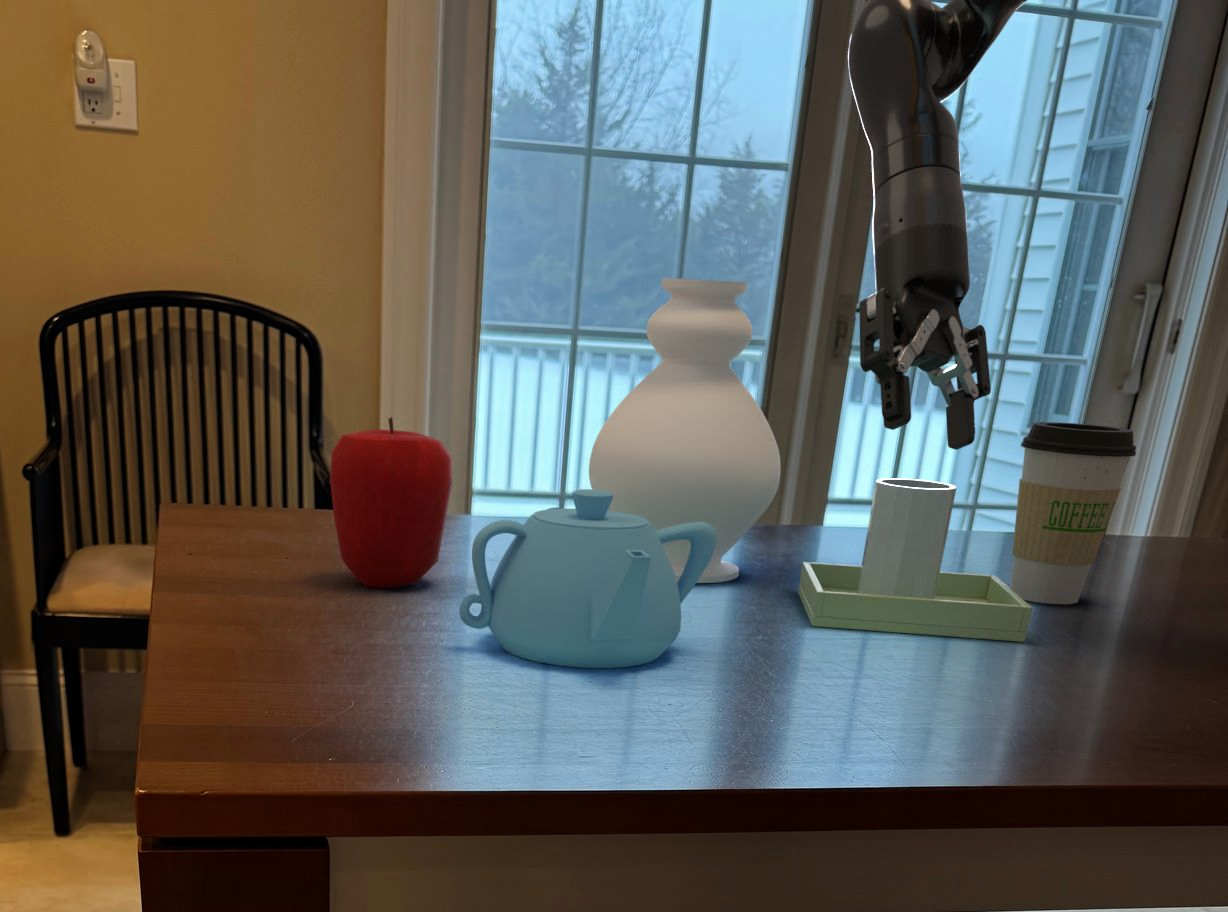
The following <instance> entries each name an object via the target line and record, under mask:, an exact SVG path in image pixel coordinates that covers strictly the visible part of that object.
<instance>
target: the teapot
mask: <svg viewBox="0 0 1228 912" xmlns="http://www.w3.org/2000/svg"><path fill="white" fill-rule="evenodd" d="M571 493H572V500H573V504H574V508H563V507H559V506H558V507H557V506H556V507H549V508H546V509H542V510H537V511H535V512H534V513H533V514H531V515H530V516H529V517H528V518H527V520H526V521H525V522H524V524H523V523H520V522H518V521H515V520H512V519H500V520H496V521H493V522H490V523H489V524H487V525H485V526H484V527H482V528H481V529H480V530H479V531H478V533H477V534H476V536H475V538H474V539H473V543H472V546H471V547H472V548H471V563H472V567H473V574H474V579H475V583H476V587H477V590H478V594H475V593H471V594H467V595H466V596H465V597H463V599H462V601H461V603H460V606H459V616H460V620H461V621H462V623H463V624H465V625H466V626H468V627H470V628H472V629H476V630H479V629H480V630H481V629H484V628H486V627H488V629H489V630H490V632H491V633H492V635H493V636H494V637H495V639H496V640H497V641H498V643H500V645H501V646H502V648H503V649H504V650H505V651H506V652H507V653H510V654H511V655H513V656H515V657H518V658H522V659H525V660H529V661H532V662H536V663H542V664H547V665H553V666H559V667H567V668H568V667H569V668H581V669H583V668H584V669H585V668H586V669H616V668H617V669H618V668H630V667H636V666H641V665H646V664H648V663H652V662H654V661H655V660H657V659H658V658H659V657H660V656H661V655H662V654H663V653H664V652H666V650H668V648H670V646H671V645H673V643H674V642H675V641H676V639H677V637H678V636H679V634H680V632H681V626H682V608H681V607H682V603H683V601H684V600H685V599H686V598H687V597H688V595H689V594H690V592H691V591H692V590H693V588H694V587H695V585H696V584H697V583H696V582H697V581H698V579H699V578H700V576H701V575H702V573H703V572H704V570H705V569H706V567H707V565H708V563H709V561H710V559H711V557H712V555H713V552H714V549H715V545H716V539H717V535H716V531H715V529H714V528H713V526H711V525H709V524H707V523H702V522H692V523H684V524H680V525H675V526H671V527H667V528H664V529H660V530H657V531H655V530H654V528H653V526H652V525H651V523H650V522H649V521H648V520H647V519H645V518H643V517H640V516H636V515H632V514H627V513H621V512H614V511H608V508H609V506H610V504H611V501H612V498H613V494H612V493H610V492H608V491H603V490H593V489H592V488H590V489H588V488H582V489H580V488H579V489H576V490H574V491H572V492H571ZM503 534H510V535H514V536H515V537H514V538H513V539H512V541H511V543H510V544H509V546H508V547H507V549H506V551H505V552H504V554H503V556H502V557H501V559H500V561H499V563H498V565H497V567H496V569H495V572H494V574H493V576H492V579H491V582H490V581H489V576H488V571H487V565H486V548H487V546H488V542H489V541H490V540H491V539H492V538H494V537H495V536H498V535H503ZM679 539H687V540H689V541H690V543H691V549H690V554H689V557H688V560H687V563H686V565H685V568H684V570H683V573H682V574H681V576H680V578H679V580H678V582H677V581H676V577H675V574H674V571H673V569H672V566H671V563H670V561H669V559H668V556H667V554H666V552H665V550H664V548H663V545H662V543H666V542H669V541H674V540H679ZM473 604H480V606H481V608H480V613H479V614H478V615H473V614H472V613H471V611H470V609H471V607H472V605H473Z"/></svg>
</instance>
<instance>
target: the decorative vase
mask: <svg viewBox="0 0 1228 912" xmlns="http://www.w3.org/2000/svg"><path fill="white" fill-rule="evenodd" d="M747 288H748V282H745V281H743V282H742V281H729V280H728V281H727V280H711V279H710V280H709V279H691V278H673V277H672V278H670V277H669V278H668V277H662V278H661V289H663V290H665V291H666V292H668V293H669V294H670V299H669V300H668V301H666V302H664V304H662V305H661V306H659V308H658V309H656V310H655V311H654V312H653V314H652V315H651V316H650V317H649V319H648V320H647V321H648V322H647V324H646V330H645V331H646V337H647V339H648V341H649V343H650V345H651V346H652V347H653V349H654V351H655V352H656V353H657V354H658V355H659V356H660V357H661V362H660V363H659V364H658V365H656V367H655V368H654V369H652V370H651V372H649V373H648V374H647V375H646V376H645V377H644V378H643V379H642V380H641V381H640V382H639V383H638V384H636V386H635V387H634V388H632V390H630V392H629V393H628V394H626V396H625V397H624V398H623V399H622V400H621V402H619V404H618V405H617V406H616V408H615V409H614V410H613V411H612V412H611V414H610V415H609V417H608V418H607V420H606V421H605V422H604V424H603V425H602V427H601V429H600V430H599V432H598V434H597V436H596V438H595V440H594V443H593V446H592V449H591V453H590V457H589V464H588V478H589V479H588V480H589V484H590V489H593V490H603V491H608V492H610V493H612V494H613V498H612V501H611V504H610V506H609V508H608V511H614V512H621V513H627V514H632V515H636V516H640V517H643V518H645V519H647V520H648V521H649V522H650V523H651V525H652V526H653V528H654V530H655V531H657V530H660V529H664V528H667V527H671V526H675V525H680V524H684V523H692V522H702V523H707V524H709V525H711V526H713V528H714V529H715V531H716V535H717V539H716V545H715V549H714V552H713V555H712V557H711V559H710V561H709V563H708V565H707V567H706V569H705V570H704V572H703V573H702V575H701V576H700V578H699V579H698V581H697V582H696V584H712V583H713V584H714V583H723V582H729V581H732V580H735V579H737V578H738V577H739V573H740V568H739V567H738V566H737V565H736V564H734V563H732V562H729V561H726V560H723V559H722V558H723V557H724V556H725V555H726V554H727V553H728V552H729V551H730V550H731V549H732V548H733V547H734V546H735V545H736V544H737V543H738V542H739V541H740V540H741V538H743V536H744V535H745V534H746V533H748V531H749V530H750V529H751V528H752V527H753V526H754V525H755V524H756V523H757V521H758V520H759V519H760V518H761V517H762V515H763V514H765V512H766V511H767V509H768V508H769V507H770V505H771V504H772V502H773V500H774V499H775V497H776V495H777V492H778V489H779V485H780V480H781V456H780V450H779V446H778V444H777V440H776V438H775V435H774V432H773V431H772V428H771V426H770V423H769V422H768V419H767V417H766V416H765V414H764V412H763V411H762V409H761V407H760V406H759V404H758V403H757V402H756V400H755V398H754V397H753V396H752V394H751V392H750V391H749V390H748V388H747V387H746V385H745V384H744V383H743V382H742V380H741V379H740V377H738V375H737V374H736V373H735V371H734V370H733V368H732V367H731V361H733V360H735V359H736V358H737V357H738V356H739V355H740V354H741V353H743V351H745V349H746V348H747V347H748V346H749V345H750V343H751V341H752V337H753V326H752V323H751V321H750V318H749V317H748V316H747V314H746V313H745V312H744V311H743V309H741V308H740V307H739V306H738V305H737V304H736V303H735V301H736V298H737V297H739V296H741V295H743V294H745V293H747ZM662 545H663V548H664V550H665V552H666V554H667V556H668V559H669V561H670V563H671V566H672V569H673V571H674V574H675V577H676V581H677V582H678V580H679V578H680V576H681V574H682V573H683V570H684V568H685V565H686V563H687V560H688V557H689V554H690V549H691V543H690V541H689V540H687V539H679V540H674V541H669V542H666V543H662Z"/></svg>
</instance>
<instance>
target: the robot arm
mask: <svg viewBox="0 0 1228 912" xmlns="http://www.w3.org/2000/svg"><path fill="white" fill-rule="evenodd" d="M1027 1H1028V0H950V1H948V3H946V5H944V6H943V7H941V6H939V5H937V4H936V3H935V2H933V1H931V0H867V2H866V3H865V4H864V5H863V7H862V8H861V10H860V11H859V13H858V15H857V17H856V20H855V22H854V24H853V26H852V30H851V34H850V38H849V45H848V51H847V53H848V54H847V61H848V64H847V65H848V72H849V73H848V74H849V80H850V84H851V88H852V89H851V90H852V92H853V96H854V100H855V103H856V106H857V110H858V113H859V117H860V121H861V124H862V129H863V130H864V133H865V137H866V139H867V141H868V144H869V147H870V151H871V173H872V175H871V176H872V190H873V214H872V226H871V227H872V229H871V230H872V248H873V267H874V282H875V283H874V285H875V286H874V287H875V292H874V293H873V294H871V295H869V296H867V297H866V298H864V299H862V300H860V301H859V305H858V306H859V307H858V308H859V309H858V310H859V364H860V368H861V370H862V371H863V372H864V373H869V372H872V373H873V374H874V379H875V381H876V383H877V384H878V385H880V400H881V402H880V403H881V415H882V418H883V427H884V428H885V429H888V430H891V431H894V430H896V429H900V428H901V427H903V426H906V425H908V424H909V423H910V421H911V420H912V404H911V387H910V386H911V385H910V376H909V375H905V374H906V373H908V372H909V369H910V368H911V367H912V368H913V367H916V368H918V369H920V370H921V371H922V372H925V373H926V374H927V376H928V379H929V380H930V383H931V385H933V386H934V387H938V388H939V389H940V392H941V395H942V397H943V399H944V401H945V403H946V405H947V406H946V407H945V416H946V417H945V419H946V434H947V435H946V436H947V446H948V448H949V449H952V450H960V449H962V448H965V447H967V446H970V445H972V444H973V443H974V442H975V438H976V421H975V420H976V419H975V401H977V400H980V399H981V398H984V397H986V396H989V395H990V394H991V391H992V387H991V375H990V368H989V365H990V364H989V354H988V344H987V333H986V329H985V327H984V325H982V324H978V325H976V326H974V327H971V328H968V327H965V326H964V324H963V322H962V319H961V315H960V311H959V310H960V306H961V304H962V302H963V300H964V298H965V297H966V296H967V294H968V292H969V291H970V286H971V279H970V260H969V259H970V258H969V242H968V224H967V209H966V202H965V201H966V200H965V196H964V191H963V186H962V178H961V175H962V174H961V157H960V140H959V132H958V131H959V130H958V127H957V123H956V120H955V118H954V116H953V114H952V113H951V111H949V109H948V108H947V107H946V106H945V105H944V103H942V102H944V101H945V100H947V99H948V98H949V97H951V96H952V95H953V94H954V93H956V92H957V91H959V89H960V88H961V87H962V86H963V85H964V83H965V82H966V81H967V80H968V78H969V77H970V76H971V74H972V73H973V72H974V71H975V69H976V68H977V66H978V65H979V64H980V62H981V61H982V59H983V58H984V56H985V55H986V53H987V52H988V51H989V49H990V48H991V46H992V45H993V44H994V42H996V40H997V39H998V37H999V35H1000V34H1001V32H1002V31H1003V29H1005V26H1006V25H1007V23H1008V22H1009V21H1010V19H1011V18H1012V17H1013V15H1014V13H1015V12H1016V11H1017V10H1018V9H1019V8H1020V7H1022V6H1023V5H1024V4H1025V3H1026V2H1027ZM877 341H878V343H879V345H878V346H879V348H878V349H875V343H876V342H877ZM953 357H954V364H953V365H951V366H949V367H947V368H945V369H943V368H942V367H944V366H946V365H947V364H949V363H950V362H951V361H952V359H953ZM975 373H976V381H975V378H974V377H973V375H974V374H975ZM955 378H956V385H957V390H956V389H955V386H954V384H953V382H952V379H955Z"/></svg>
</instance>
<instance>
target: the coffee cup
mask: <svg viewBox="0 0 1228 912" xmlns="http://www.w3.org/2000/svg"><path fill="white" fill-rule="evenodd" d="M1020 446H1021V448H1024V451H1023V462H1022V471H1021V472H1022V473H1021V478H1020V479H1019V481H1018V493H1017V502H1016V512H1015V522H1014V533H1013V543H1012V551H1011V552H1012V553H1011V554H1012V565H1011V576H1010V585H1009V588H1010V589H1012V590H1013V591H1014V592H1015V593H1016V594H1017V595H1018V596H1020V597H1021V598H1022V599H1023V600H1024V601H1026V602H1033V603H1038V604H1039V603H1040V604H1047V605H1073V604H1077V603H1079V600H1080V597H1081V594H1082V592H1083V589H1084V586H1085V583H1086V581H1087V578H1088V575H1089V572H1090V570H1091V567H1092V564H1094V563H1095V560H1096V558H1097V554H1098V552H1099V549H1100V547H1101V544H1102V541H1103V538H1104V535H1105V533H1106V531H1107V527H1108V525H1109V522H1110V519H1111V516H1112V514H1113V510H1114V508H1115V506H1116V503H1117V500H1118V497H1119V495H1120V492H1121V489H1122V488H1121V487H1120V486H1121V483H1122V481H1123V478H1124V475H1125V472H1126V470H1127V467H1128V464H1129V461H1130V458H1131V457H1135V456H1136V455H1137V454H1136V453H1137V451H1136V450H1137V446H1136V445H1134V430H1132V429H1128V428H1123V427H1115V426H1109V425H1108V426H1107V425H1101V424H1100V425H1099V424H1087V423H1075V422H1058V421H1057V422H1055V421H1039V422H1033V423H1032V425H1031V427H1030V430H1029V432H1028V434H1027V436H1024V437H1023V439H1022V442H1021V443H1020Z"/></svg>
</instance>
